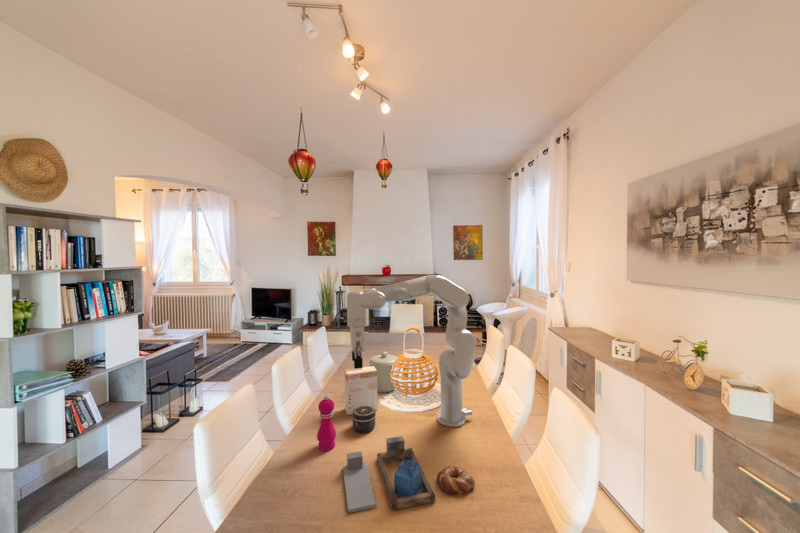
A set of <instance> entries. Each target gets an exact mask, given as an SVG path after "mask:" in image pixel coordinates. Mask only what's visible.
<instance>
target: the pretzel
mask: <svg viewBox="0 0 800 533" xmlns="http://www.w3.org/2000/svg"><path fill="white" fill-rule="evenodd" d="M436 483H437V484H438V486H439V487H441V488H442V489H443V491H444V492H445V493H447V494H449V495H454V494H455V495H456V494H467V493H469V492H470V490H471V489H473V488H474V486H475V485H476V484H475V479H474V477H473V476H472V475H470V474H469V473H468V472H467V471H466V470H464V469H463V470H462V469H461V467H458V466H445V467H444V468H442V469H440V471H438V473H437V476H436Z"/></svg>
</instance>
